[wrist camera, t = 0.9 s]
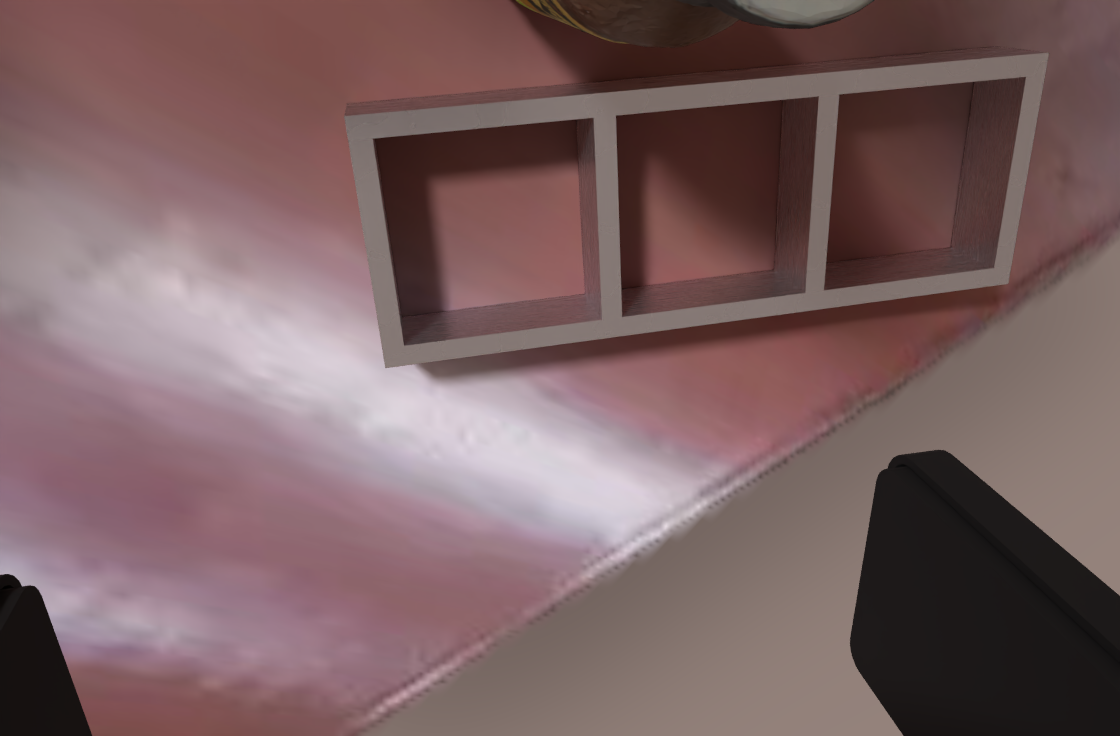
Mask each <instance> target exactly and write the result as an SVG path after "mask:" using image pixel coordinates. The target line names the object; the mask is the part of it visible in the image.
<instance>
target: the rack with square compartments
mask: <svg viewBox="0 0 1120 736" xmlns="http://www.w3.org/2000/svg"><path fill="white" fill-rule="evenodd" d="M1048 56H1049V52H1040V51H1031V50H1022V49H1014V48H1005V47H986V48H975V49H964V50H952V51H941V52H930V53H918V54H907V55H896V56H884V57H873V58H862V59H850V60H839V61H828V62H816V63H805V64H794V65H782V66H771V67H760V68H748V69H737V70H726V71H714V72H703V73H692V74H680V75H669V76H658V77H646V78H635V79H624V80H612V81H601V82H590V83H578V84H567V85H556V86H544V87H533V88H522V89H510V90H499V91H488V92H476V93H465V94H454V95H442V96H431V97H420V98H408V99H397V100H386V101H374V102H363V103H352V104H347V106H346V110H345V115H344V118H345V124H346V130H347V136H348V142H349V148H350V154H351V160H352V166H353V173H354V179H355V185H356V191H357V197H358V203H359V209H360V215H361V221H362V228H363V234H364V240H365V246H366V252H367V258H368V264H369V270H370V276H371V282H372V289H373V295H374V301H375V307H376V313H377V319H378V325H379V331H380V337H381V344H382V350H383V356H384V362H385V368H390V367H397V366H405V365H412V364H420V363H427V362H434V361H442V360H449V359H456V358H464V357H471V356H479V355H486V354H493V353H501V352H508V351H516V350H523V349H530V348H538V347H545V346H553V345H560V344H567V343H575V342H582V341H590V340H597V339H604V338H612V337H619V336H627V335H634V334H641V333H649V332H656V331H663V330H671V329H678V328H686V327H693V326H700V325H708V324H715V323H723V322H730V321H737V320H745V319H752V318H760V317H767V316H774V315H782V314H789V313H797V312H804V311H811V310H819V309H826V308H834V307H841V306H848V305H856V304H863V303H870V302H878V301H885V300H893V299H900V298H907V297H915V296H922V295H930V294H937V293H944V292H952V291H959V290H967V289H974V288H981V287H989V286H996V285H1004V284H1008V282H1009V276H1010V271H1011V265H1012V259H1013V254H1014V248H1015V242H1016V237H1017V231H1018V226H1019V220H1020V214H1021V209H1022V203H1023V197H1024V192H1025V186H1026V180H1027V175H1028V169H1029V163H1030V158H1031V152H1032V146H1033V141H1034V135H1035V129H1036V124H1037V118H1038V112H1039V107H1040V101H1041V95H1042V90H1043V84H1044V78H1045V73H1046V67H1047V62H1048ZM965 82H974V88H973V95H972V102H971V109H970V116H969V123H968V129H967V136H966V143H965V150H964V157H963V164H962V171H961V178H960V185H959V192H958V199H957V206H956V213H955V220H954V227H953V234H952V241H951V248H943V249H935V250H927V251H919V252H911V253H903V254H895V255H888V256H880V257H872V258H864V259H856V260H848V261H840V262H832V263H826V258H827V245H828V232H829V219H830V207H831V194H832V181H833V169H834V156H835V143H836V130H837V118H838V105H839V94H849V93H859V92H870V91H881V90H891V89H902V88H912V87H923V86H933V85H944V84H955V83H965ZM775 100H783V104H782V124H781V143H780V163H779V183H778V202H777V222H776V241H775V261H774V270H769V271H761V272H753V273H745V274H738V275H730V276H722V277H714V278H706V279H698V280H690V281H682V282H674V283H666V284H659V285H651V286H643V287H635V288H627V289H621V266H620V233H619V200H618V167H617V134H616V116H617V115H627V114H638V113H648V112H659V111H669V110H680V109H691V108H701V107H712V106H722V105H733V104H743V103H754V102H764V101H775ZM574 119H576V126H577V146H578V166H579V186H580V206H581V226H582V246H583V266H584V286H585V294H580V295H572V296H564V297H556V298H548V299H540V300H532V301H524V302H516V303H509V304H501V305H493V306H485V307H477V308H469V309H461V310H453V311H445V312H437V313H430V314H422V315H414V316H406V317H402V316H401V309H400V302H399V296H398V289H397V283H396V276H395V269H394V263H393V256H392V249H391V243H390V236H389V229H388V223H387V216H386V209H385V203H384V196H383V189H382V183H381V176H380V170H379V163H378V156H377V150H376V143H375V138H384V137H395V136H405V135H416V134H427V133H437V132H448V131H458V130H469V129H479V128H490V127H500V126H511V125H522V124H532V123H543V122H553V121H564V120H574Z"/></svg>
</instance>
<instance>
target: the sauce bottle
mask: <svg viewBox="0 0 1120 736" xmlns="http://www.w3.org/2000/svg"><path fill="white" fill-rule="evenodd" d="M515 1H517V2H518V3H519V4H521V5H523V6H525V7H526V8H528V9H530V10H532V11H535V12H537V13H539V14H542V15H544V16H547V17H550V18H552V19H555V20H558V21H560V22H563V23H565V24H568V25H570V26H573V27H575V28H577V29H580V30H581V31H582V32H587V33H589V34H592V35H594V36H597V37H599V38H602V39H605V40H608V41H611V42H617V43H626V44H627V43H629V44H633V45H639V46H644V47H670V48H675V47H683V46H687V45H689V44H692V43H696V42H699V41H701V40H704V39H706V38H709V37H711V36H713V35H715V34H717V33H719V32H721V31H723V30H725V29H726V28H728V27H730V26H731V25H733V24H734V23H735V22H736V21H738V20H742V21H745V22H749V23H752V24H756V25H762V26H769V27H774V28H789V29H802V28H813V27H817V26H821V25H825V24H829V23H833V22H836V21H838V20H841V19H843V18H845V17H847V16H849V15H851V14H853V13H856V12H858V11H859V10H861V9H862V8H864V7H865V6H867V5H868V4H870V3H871V2H873V1H874V0H515Z"/></svg>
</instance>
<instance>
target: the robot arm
mask: <svg viewBox="0 0 1120 736" xmlns="http://www.w3.org/2000/svg"><path fill="white" fill-rule="evenodd" d="M850 647H851V653H852V657H853V659H854V662H855V665H856V667H857V669H858V670H859V672H860V674H861V675H862V676H863V678H864V679H865V681H866V682H867V683H868V685H869V687H870V688H871V689H872V691H873V692H874V694H875V695H876V697H877V698H878V700H879V701H880V702H881V704H882V705H883V707H884V708H885V710H886V711H887V712H888V714H889V715H890V717H891V718H892V720H893V721H894V723H895V724H896V725H897V727H898V728H899V730H900V731H901V732H902V734H903V736H1120V596H1119V595H1118V594H1117V593H1116V592H1114V591H1113V590H1112V589H1111V588H1110V587H1108V586H1107V585H1106V584H1105V583H1104V582H1103V581H1101V580H1100V579H1099V578H1098V577H1097V576H1096V575H1094V574H1093V573H1092V572H1091V571H1090V570H1088V569H1087V568H1086V567H1085V566H1084V565H1082V564H1081V563H1080V562H1079V561H1078V560H1077V559H1075V558H1074V557H1073V556H1072V555H1071V554H1069V553H1068V552H1067V551H1066V550H1065V549H1063V548H1062V547H1061V546H1060V545H1059V544H1058V543H1056V542H1055V541H1054V540H1053V539H1052V538H1050V537H1049V536H1048V535H1047V534H1046V533H1044V532H1043V531H1042V530H1041V529H1039V527H1037V526H1036V525H1035V524H1034V523H1032V522H1031V521H1030V520H1029V519H1028V518H1026V517H1025V516H1024V515H1023V514H1022V513H1021V512H1020V511H1018V510H1017V509H1016V508H1015V507H1013V506H1012V505H1011V504H1010V503H1009V502H1008V501H1006V500H1005V499H1004V498H1003V497H1002V496H1000V495H999V494H998V493H997V492H996V491H995V490H993V489H992V488H991V487H990V486H989V485H987V484H986V483H985V482H984V481H983V480H981V479H980V478H979V477H978V476H977V475H975V474H974V473H973V472H972V471H971V470H969V469H968V468H967V467H966V466H965V465H964V464H962V463H961V462H960V461H959V460H958V459H957V458H955V457H954V456H953V455H952V454H950V453H948V452H946V451H944V450H934V451H926V452H919V453H911V454H904V455H898V456H896V457H894V458H893V459H892V460H891V462H890V463H889V466H888V469H884V470H883V471H881V472H880V473H879V475H878V478H877V481H876V487H875V493H874V499H873V505H872V511H871V517H870V522H869V528H868V535H867V541H866V547H865V553H864V559H863V565H862V571H861V577H860V583H859V589H858V595H857V602H856V607H855V613H854V619H853V625H852V631H851V637H850ZM0 736H92V734H91V731H90V728H89V725H88V723H87V720H86V717H85V714H84V712H83V709H82V706H81V703H80V701H79V698H78V695H77V692H76V690H75V687H74V684H73V681H72V678H71V676H70V673H69V670H68V667H67V665H66V662H65V659H64V656H63V654H62V651H61V648H60V645H59V643H58V640H57V637H56V634H55V632H54V629H53V626H52V623H51V620H50V618H49V615H48V612H47V609H46V607H45V604H44V601H43V598H42V596H41V594H40V592H39V590H38V589H37V588H36V587H35V586H23V587H22V586H21V584H20V582H19V580H18V579H17V578H16V577H15V576H13V575H9V574H4V575H0Z"/></svg>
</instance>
